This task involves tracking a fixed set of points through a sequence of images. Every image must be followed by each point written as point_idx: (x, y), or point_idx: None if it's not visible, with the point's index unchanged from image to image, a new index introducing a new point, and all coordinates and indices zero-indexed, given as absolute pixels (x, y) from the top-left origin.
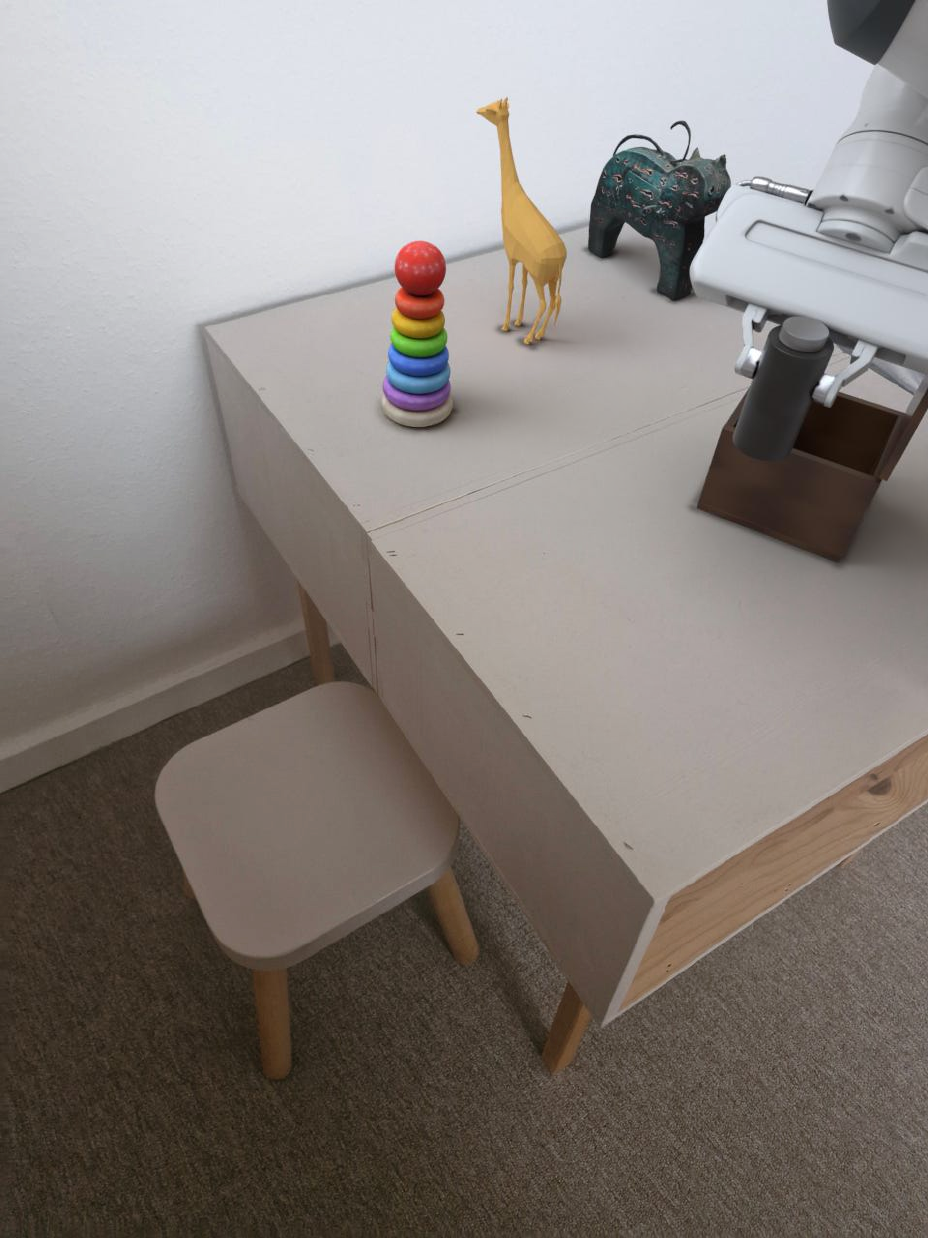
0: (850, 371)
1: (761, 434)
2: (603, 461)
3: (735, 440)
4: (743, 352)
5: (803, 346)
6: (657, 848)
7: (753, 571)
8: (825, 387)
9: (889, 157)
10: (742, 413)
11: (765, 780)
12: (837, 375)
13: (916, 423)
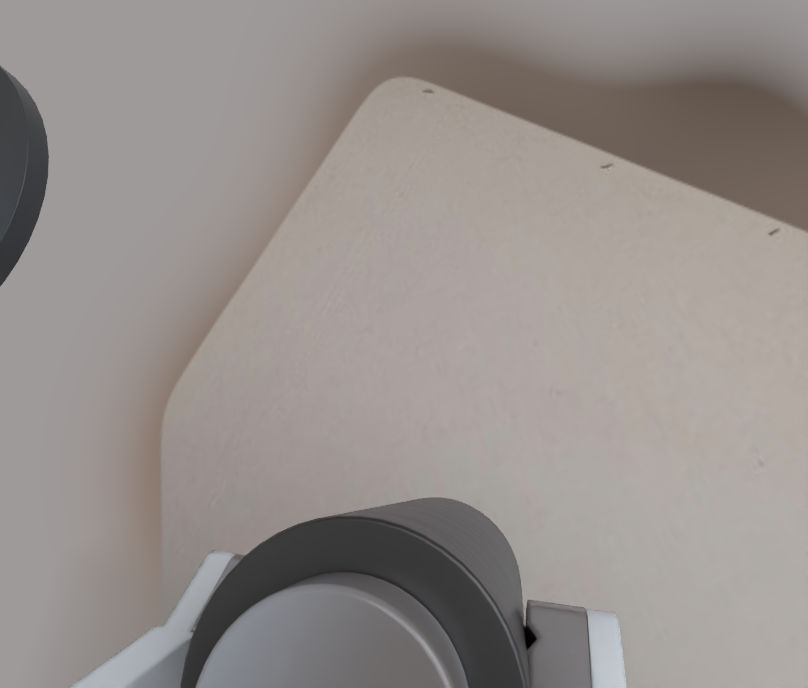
0: (127, 658)
1: (431, 500)
2: None
3: (504, 537)
4: (615, 672)
5: (313, 578)
6: (400, 105)
7: None
8: None
9: None
10: (512, 563)
11: (315, 239)
12: (185, 638)
13: None
